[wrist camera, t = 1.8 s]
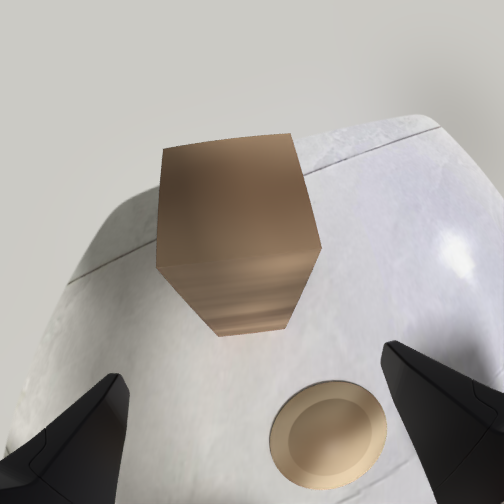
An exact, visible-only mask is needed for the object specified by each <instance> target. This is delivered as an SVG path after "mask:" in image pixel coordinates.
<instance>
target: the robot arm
mask: <svg viewBox="0 0 504 504" xmlns="http://www.w3.org/2000/svg"><path fill="white" fill-rule="evenodd" d="M381 367H382V370H383V373H384V376H385V379H386V381H387V384H388V387H389V390H390V393H391V396H392V399H393V401H394V404H395V406H396V408H397V410H398V412H399V414H400V417H401V419H402V421H403V423H404V425H405V427H406V430H407V432H408V434H409V436H410V439H411V441H412V443H413V445H414V448H415V450H416V452H417V455H418V457H419V459H420V462H421V464H422V466H423V469H424V471H425V474H426V476H427V478H428V481H429V483H430V486H431V488H432V491H433V494H434V497H435V499H436V502H437V504H504V393H502V392H499V391H497V390H494V389H492V388H490V387H488V386H485V385H483V384H481V383H479V382H477V381H475V380H472V379H471V378H469V377H467V376H465V375H463V374H461V373H459V372H457V371H455V370H453V369H451V368H449V367H447V366H445V365H443V364H441V363H439V362H437V361H435V360H434V359H432V358H430V357H428V356H426V355H424V354H422V353H420V352H418V351H416V350H414V349H412V348H410V347H408V346H406V345H404V344H402V343H400V342H398V341H396V340H393V341H389V342H386V343H385V344H384V346H383V351H382V356H381ZM129 397H130V393H129V389H128V387H127V385H126V383H125V381H124V379H123V377H122V375H121V374H119V373H109V374H108V375H107V376H105V377H104V378H103V379H102V380H101V381H99V382H98V383H97V384H96V385H95V386H94V387H92V388H91V389H90V390H89V391H88V392H87V393H85V394H84V395H83V396H82V397H81V398H80V399H78V400H77V401H76V402H75V403H74V404H72V405H71V406H70V407H69V408H68V409H67V410H65V411H64V412H63V413H62V414H61V415H60V416H58V417H57V418H56V419H55V420H54V421H52V422H51V423H50V424H49V425H48V426H47V427H46V428H44V429H43V430H42V431H41V432H39V433H38V434H37V435H36V436H35V437H33V438H32V439H31V440H30V441H28V442H27V443H25V444H24V445H23V446H21V447H20V448H18V449H17V450H16V451H14V452H13V453H11V454H10V455H8V456H7V457H5V458H4V459H2V460H1V461H0V504H115V497H116V489H117V483H118V476H119V470H120V464H121V458H122V452H123V447H124V441H125V436H126V430H127V418H128V407H129Z"/></svg>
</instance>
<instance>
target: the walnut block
mask: <svg viewBox="0 0 504 504" xmlns="http://www.w3.org/2000/svg"><path fill="white" fill-rule="evenodd" d="M161 167H162V168H161V177H160V190H159V204H158V222H157V250H156V268H157V269H158V271H159V272H160V273H161V274H162V275H163V276H164V278H165V279H166V280H167V281H168V282H169V283H170V284H171V286H172V287H173V288H174V289H175V290H176V291H177V292H178V294H179V295H180V296H181V297H182V298H183V299H184V300H185V301H186V302H187V304H188V305H189V306H190V307H191V308H192V309H193V310H194V311H195V312H196V313H197V314H198V316H199V317H200V318H201V319H202V320H203V321H204V322H205V323H206V324H207V325H208V326H209V327H210V328H211V329H212V330H213V332H214V333H215V334H216V335H217V336H218V337H221V336H231V335H240V334H249V333H257V332H265V331H273V330H280V329H285V328H286V326H287V324H288V322H289V320H290V318H291V315H292V313H293V311H294V309H295V307H296V305H297V303H298V300H299V298H300V296H301V294H302V292H303V290H304V287H305V285H306V283H307V281H308V279H309V276H310V274H311V272H312V270H313V267H314V265H315V263H316V260H317V258H318V256H319V254H320V251H321V249H322V247H321V242H320V238H319V234H318V230H317V226H316V222H315V218H314V214H313V210H312V207H311V203H310V199H309V195H308V192H307V188H306V184H305V181H304V177H303V174H302V170H301V167H300V163H299V160H298V157H297V153H296V150H295V147H294V143H293V140H292V137H291V134H290V133H288V134H274V135H261V136H252V137H241V138H232V139H224V140H216V141H208V142H202V143H195V144H189V145H182V146H176V147H171V148H166V149H163V156H162V166H161Z"/></svg>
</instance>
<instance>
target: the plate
mask: <svg viewBox="0 0 504 504" xmlns="http://www.w3.org/2000/svg"><path fill="white" fill-rule="evenodd" d="M386 435H387V422H386V417H385V414H384V411H383V409H382V407H381V405H380V403H379V402H378V400H377V399H376V398H375V397H374V396H373V395H372V394H371V393H370V392H368V391H367V390H365V389H364V388H362V387H359V386H357V385H354V384H351V383H346V382H327V383H322V384H318V385H315V386H312V387H310V388H308V389H306V390H304V391H302V392H300V393H299V394H297V395H296V396H295V397H293V398H292V399H291V400H290V401H289V402H288V403H287V404H286V405H285V406H284V407H283V409H282V410H281V411H280V413H279V414H278V416H277V418H276V420H275V422H274V425H273V427H272V431H271V437H270V449H271V455H272V458H273V461H274V463H275V465H276V466H277V468H278V469H279V471H280V472H281V473H282V474H283V475H284V476H285V477H286V478H287V479H288V480H290V481H291V482H293V483H295V484H297V485H299V486H302V487H305V488H309V489H316V490H327V489H334V488H338V487H341V486H344V485H347V484H349V483H351V482H353V481H355V480H356V479H358V478H359V477H361V476H362V475H363V474H365V473H366V472H367V471H368V470H369V469H370V468H371V467H372V466H373V465H374V463H375V462H376V460H377V459H378V457H379V456H380V454H381V452H382V450H383V447H384V444H385V441H386Z"/></svg>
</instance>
